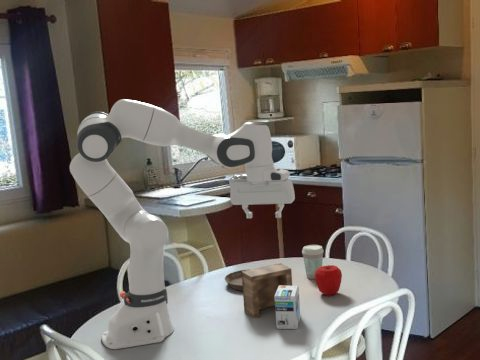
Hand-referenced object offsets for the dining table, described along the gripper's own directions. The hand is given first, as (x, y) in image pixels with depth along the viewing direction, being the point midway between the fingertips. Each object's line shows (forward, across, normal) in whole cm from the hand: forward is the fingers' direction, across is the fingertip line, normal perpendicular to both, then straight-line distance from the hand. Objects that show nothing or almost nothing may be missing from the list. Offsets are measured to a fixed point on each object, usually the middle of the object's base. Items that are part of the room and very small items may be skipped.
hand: (263, 217), depth 181 cm
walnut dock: (+34, -4, +10) cm, 36 cm away
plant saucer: (+35, -19, +35) cm, 53 cm away
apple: (+35, +13, +28) cm, 47 cm away
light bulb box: (+35, +5, 0) cm, 35 cm away
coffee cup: (+35, +4, +47) cm, 59 cm away
